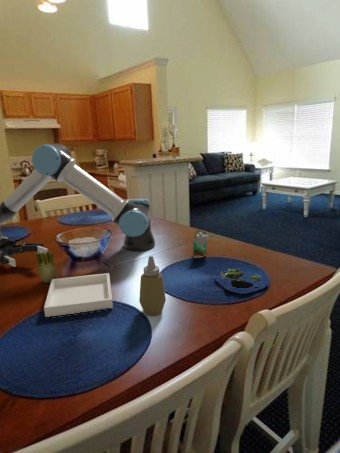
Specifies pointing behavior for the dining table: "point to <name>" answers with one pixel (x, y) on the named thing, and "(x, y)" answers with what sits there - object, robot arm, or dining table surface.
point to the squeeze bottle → (152, 289)
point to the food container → (200, 243)
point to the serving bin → (78, 295)
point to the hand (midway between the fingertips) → (31, 257)
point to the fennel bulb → (46, 267)
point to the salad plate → (235, 275)
